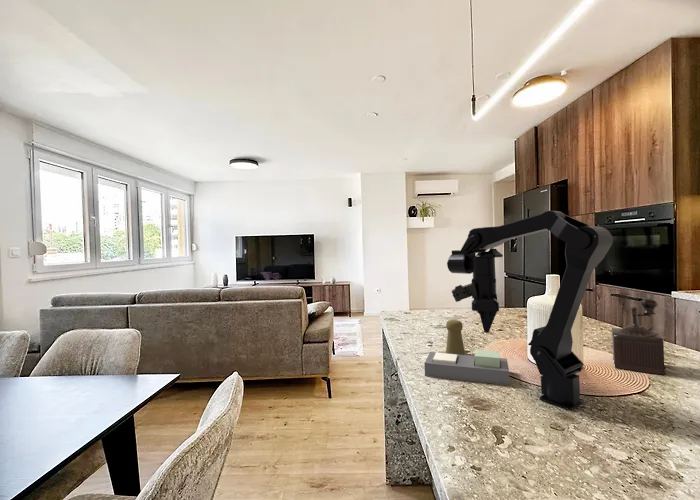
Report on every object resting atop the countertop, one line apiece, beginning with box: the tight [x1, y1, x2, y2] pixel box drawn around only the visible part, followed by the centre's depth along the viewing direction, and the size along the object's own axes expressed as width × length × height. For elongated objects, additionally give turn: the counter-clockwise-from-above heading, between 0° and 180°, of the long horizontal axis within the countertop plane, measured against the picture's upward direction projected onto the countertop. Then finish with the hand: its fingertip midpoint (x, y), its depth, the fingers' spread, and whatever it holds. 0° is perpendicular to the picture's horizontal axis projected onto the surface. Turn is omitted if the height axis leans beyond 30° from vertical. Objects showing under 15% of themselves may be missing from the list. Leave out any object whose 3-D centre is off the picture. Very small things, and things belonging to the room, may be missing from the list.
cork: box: [445, 319, 466, 355], centre depth 108 cm, size 6×6×11 cm
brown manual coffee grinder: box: [611, 298, 667, 376], centre depth 93 cm, size 16×11×18 cm
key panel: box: [424, 351, 511, 386], centre depth 91 cm, size 21×10×4 cm, turn 67°
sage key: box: [474, 349, 501, 368], centre depth 89 cm, size 6×6×3 cm
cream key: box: [433, 352, 457, 364], centre depth 93 cm, size 6×6×3 cm
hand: (486, 332), depth 89 cm, fingers closed
